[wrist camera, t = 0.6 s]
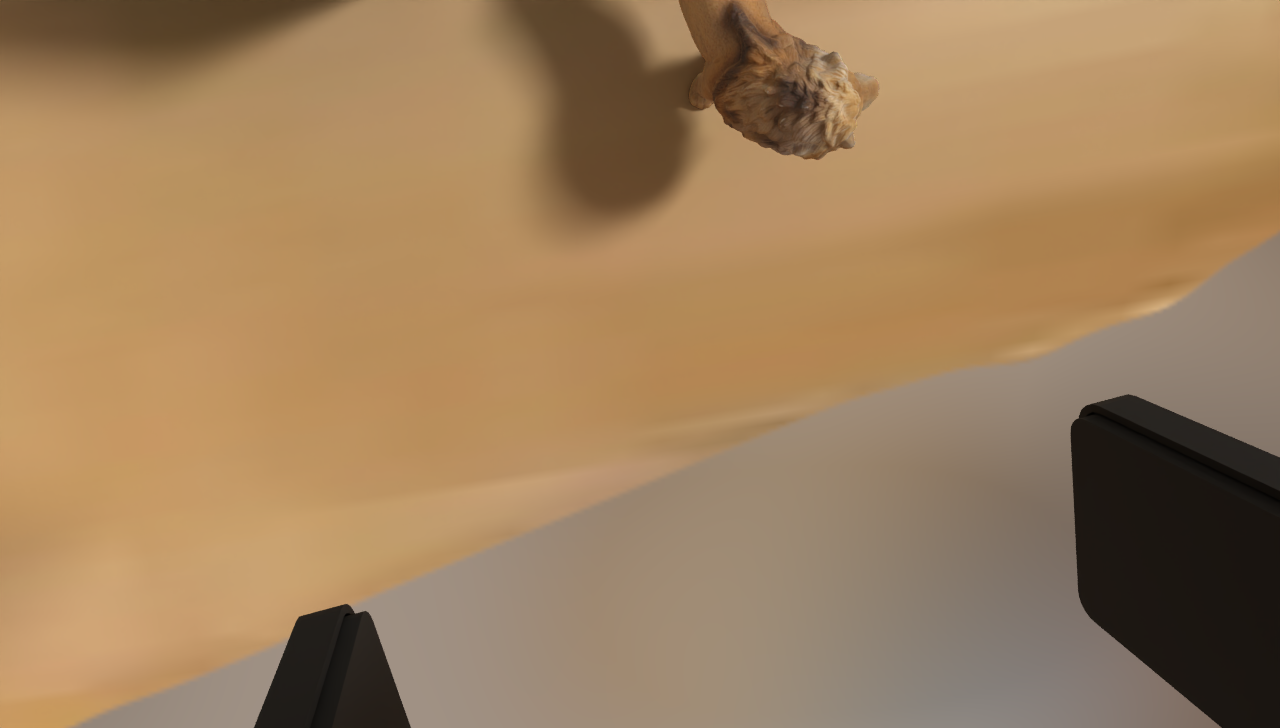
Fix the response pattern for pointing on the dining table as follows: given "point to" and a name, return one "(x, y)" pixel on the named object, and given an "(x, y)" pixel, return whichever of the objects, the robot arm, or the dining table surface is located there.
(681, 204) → the dining table surface
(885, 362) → the dining table surface
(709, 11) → the lion figurine
